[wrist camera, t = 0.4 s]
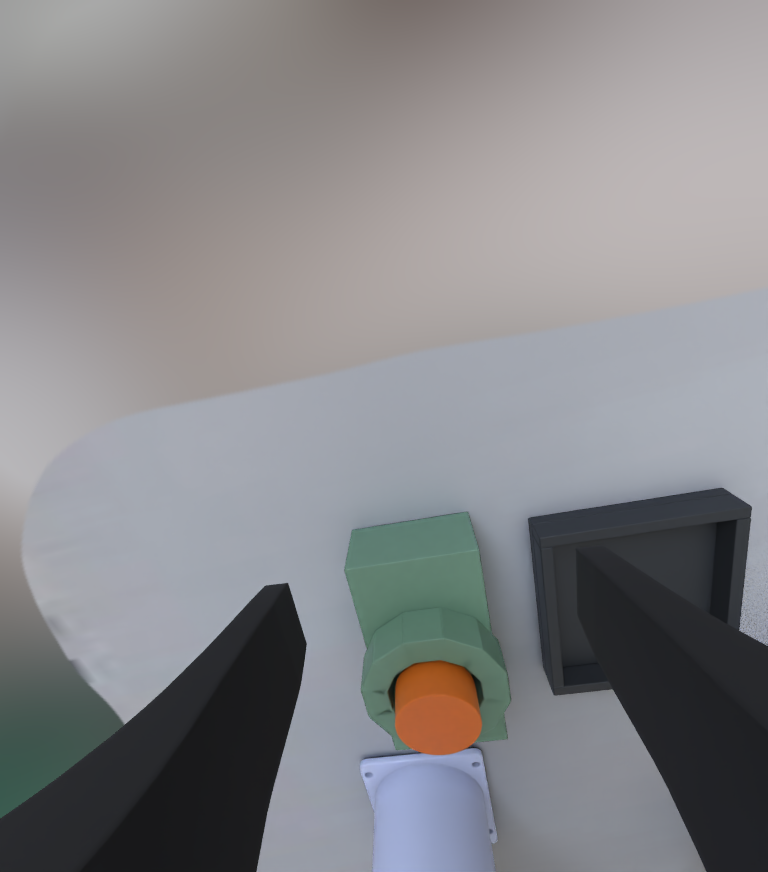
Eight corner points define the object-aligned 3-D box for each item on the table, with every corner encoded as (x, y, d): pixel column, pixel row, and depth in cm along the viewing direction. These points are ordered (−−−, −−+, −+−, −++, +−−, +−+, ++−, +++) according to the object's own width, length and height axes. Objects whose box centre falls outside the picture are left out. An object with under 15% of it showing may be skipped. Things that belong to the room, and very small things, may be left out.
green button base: (499, 683, 25) (522, 777, 20) (392, 696, 25) (390, 789, 21) (472, 510, 21) (494, 576, 16) (347, 530, 21) (332, 599, 17)
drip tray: (710, 647, 23) (734, 676, 21) (543, 667, 24) (553, 696, 22) (722, 487, 20) (753, 506, 18) (528, 517, 21) (539, 538, 19)
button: (479, 711, 19) (487, 751, 18) (403, 719, 20) (403, 759, 18) (469, 653, 18) (476, 690, 16) (388, 663, 18) (386, 700, 17)
